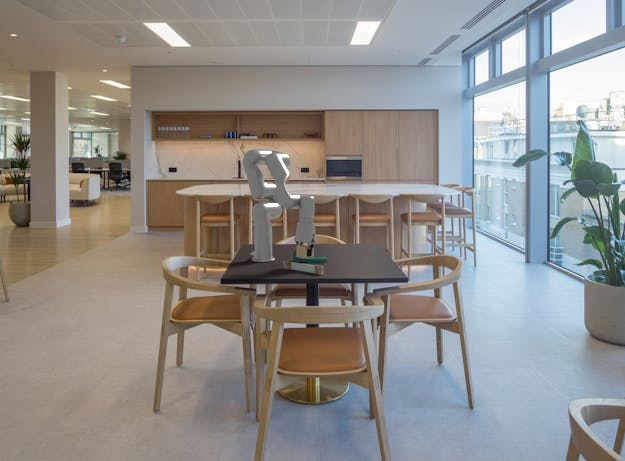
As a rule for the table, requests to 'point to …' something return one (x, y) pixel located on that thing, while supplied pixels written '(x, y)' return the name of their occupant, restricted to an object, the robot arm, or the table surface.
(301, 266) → the sage gate
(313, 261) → the bracket
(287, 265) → the oak fence
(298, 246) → the block
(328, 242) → the table surface
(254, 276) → the table surface
